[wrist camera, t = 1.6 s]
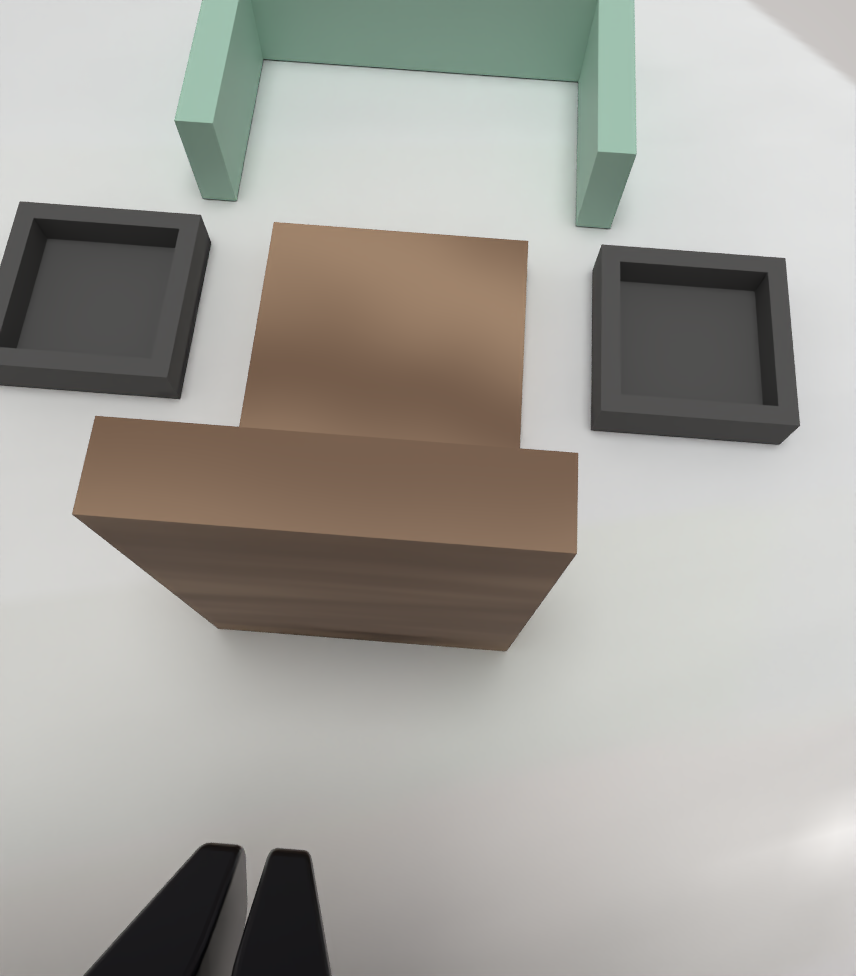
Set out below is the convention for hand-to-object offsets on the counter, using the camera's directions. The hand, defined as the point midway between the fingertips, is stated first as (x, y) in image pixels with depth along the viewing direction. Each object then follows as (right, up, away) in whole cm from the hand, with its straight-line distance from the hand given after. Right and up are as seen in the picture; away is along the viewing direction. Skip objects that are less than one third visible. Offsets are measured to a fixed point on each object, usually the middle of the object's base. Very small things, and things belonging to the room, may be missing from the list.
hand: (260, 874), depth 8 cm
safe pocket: (+1, +15, +17) cm, 23 cm away
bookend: (+1, +5, +13) cm, 14 cm away
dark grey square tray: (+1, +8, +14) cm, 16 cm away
